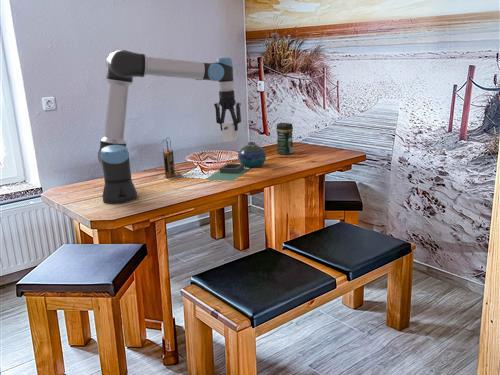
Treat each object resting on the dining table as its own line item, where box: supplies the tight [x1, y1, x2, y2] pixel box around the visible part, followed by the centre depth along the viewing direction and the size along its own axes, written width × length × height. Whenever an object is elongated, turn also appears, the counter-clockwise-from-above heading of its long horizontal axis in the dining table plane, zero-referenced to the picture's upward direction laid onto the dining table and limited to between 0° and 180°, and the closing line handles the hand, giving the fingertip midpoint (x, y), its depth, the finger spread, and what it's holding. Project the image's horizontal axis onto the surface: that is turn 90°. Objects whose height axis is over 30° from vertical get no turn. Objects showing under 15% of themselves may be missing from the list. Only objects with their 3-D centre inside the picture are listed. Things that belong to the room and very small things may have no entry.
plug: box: [221, 121, 238, 143], centre depth 241 cm, size 9×5×9 cm, turn 160°
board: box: [205, 163, 250, 182], centre depth 243 cm, size 24×15×4 cm, turn 161°
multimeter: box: [162, 137, 185, 181], centre depth 247 cm, size 15×10×20 cm
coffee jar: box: [276, 122, 294, 155], centre depth 288 cm, size 10×8×19 cm
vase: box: [237, 141, 267, 169], centre depth 260 cm, size 15×15×13 cm
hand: (229, 137), depth 242 cm, fingers closed on plug, 5 cm apart
